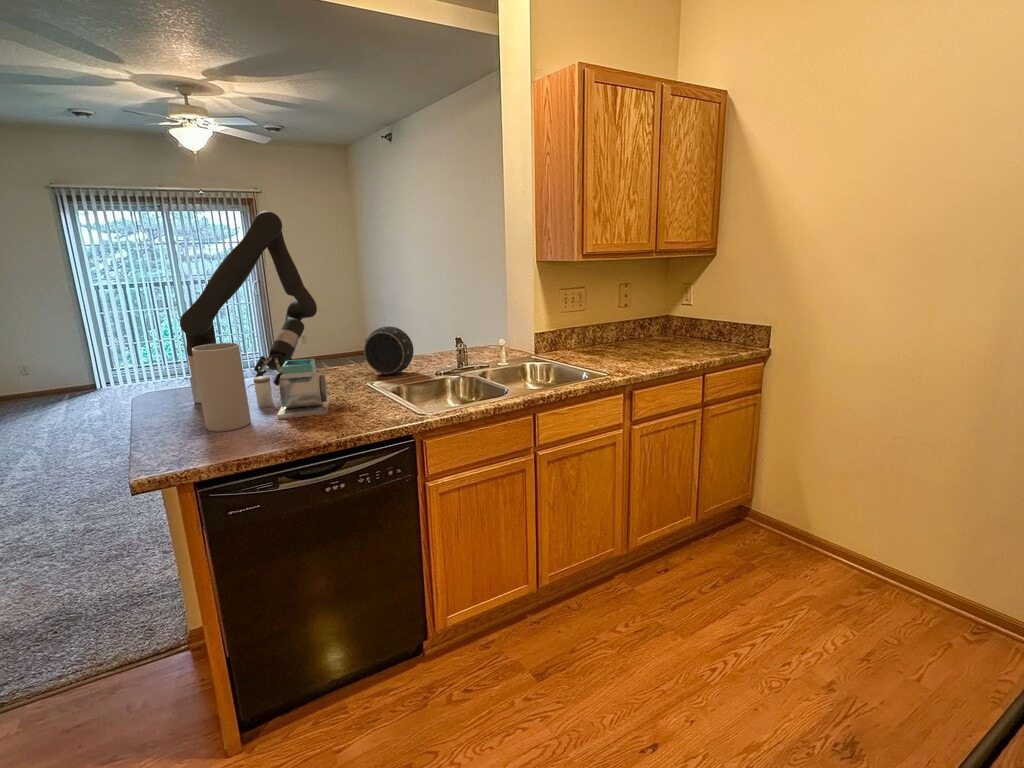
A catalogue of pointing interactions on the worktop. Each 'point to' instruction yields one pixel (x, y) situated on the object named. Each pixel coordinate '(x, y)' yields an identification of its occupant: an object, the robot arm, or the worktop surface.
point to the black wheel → (388, 350)
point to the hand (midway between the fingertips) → (266, 383)
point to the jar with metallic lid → (263, 391)
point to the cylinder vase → (221, 386)
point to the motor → (302, 390)
